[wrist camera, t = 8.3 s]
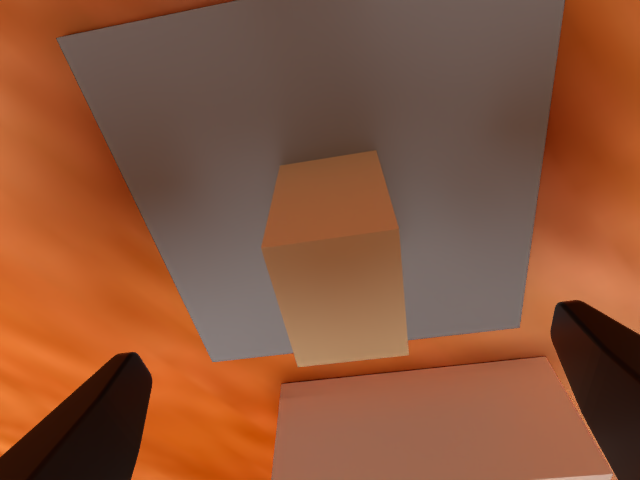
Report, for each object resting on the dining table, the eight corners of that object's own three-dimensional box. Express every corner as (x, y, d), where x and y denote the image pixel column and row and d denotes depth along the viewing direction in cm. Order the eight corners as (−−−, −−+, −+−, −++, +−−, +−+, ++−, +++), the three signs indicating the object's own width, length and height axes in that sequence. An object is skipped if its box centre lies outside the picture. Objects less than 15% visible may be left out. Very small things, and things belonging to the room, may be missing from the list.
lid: (553, -67, 10) (743, -97, 6) (510, 310, 17) (577, 433, 13) (75, 33, 11) (-91, 74, 7) (217, 344, 19) (182, 466, 14)
